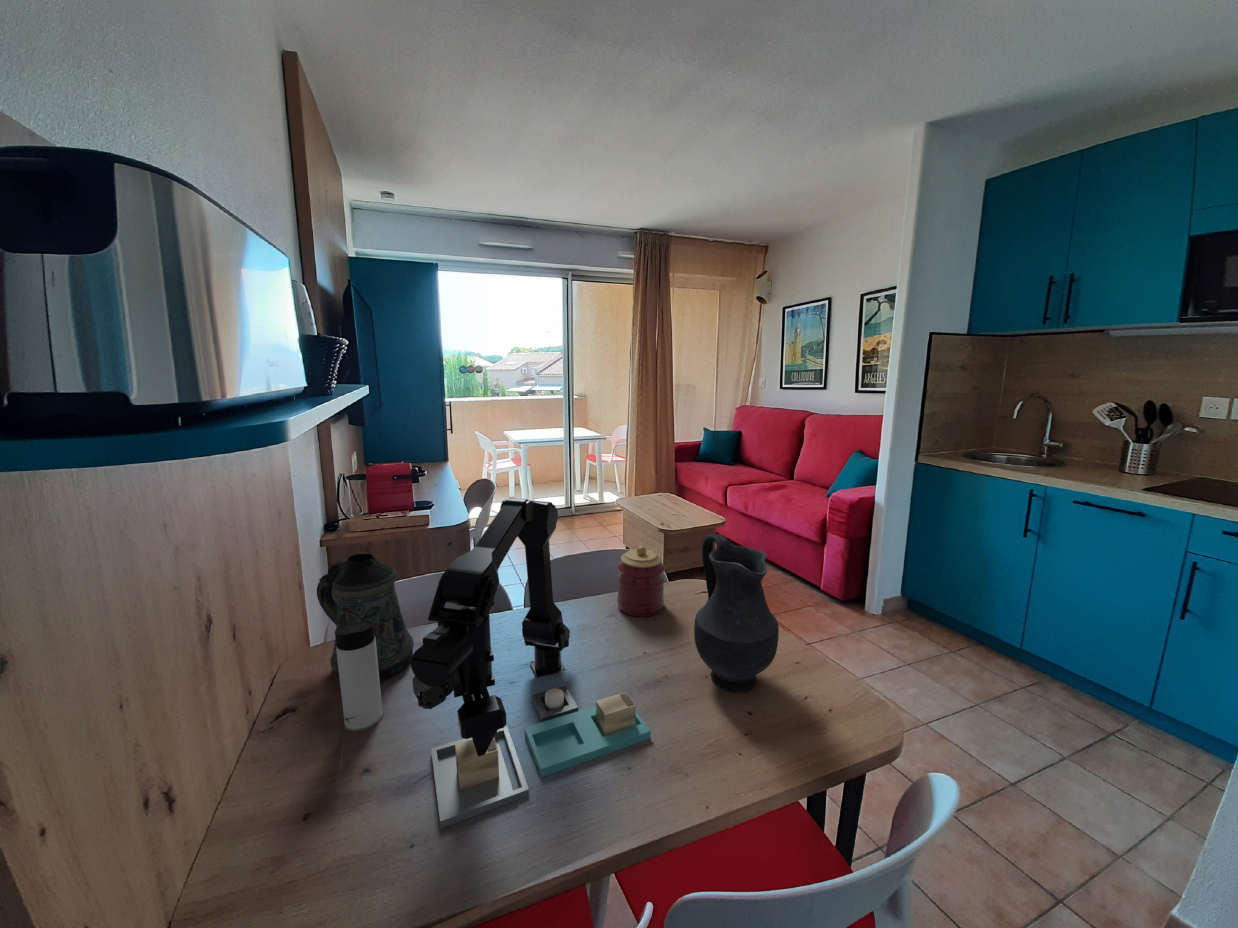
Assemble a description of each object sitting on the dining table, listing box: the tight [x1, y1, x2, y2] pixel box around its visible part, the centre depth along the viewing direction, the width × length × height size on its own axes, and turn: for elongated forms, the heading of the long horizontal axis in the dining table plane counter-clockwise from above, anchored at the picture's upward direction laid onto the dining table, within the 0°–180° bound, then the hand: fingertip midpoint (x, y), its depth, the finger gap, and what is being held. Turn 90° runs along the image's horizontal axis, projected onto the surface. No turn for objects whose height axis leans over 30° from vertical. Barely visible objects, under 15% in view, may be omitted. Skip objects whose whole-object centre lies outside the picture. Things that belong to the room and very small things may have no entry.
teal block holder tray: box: [524, 705, 652, 778], centre depth 87 cm, size 10×20×2 cm, turn 115°
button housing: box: [531, 685, 579, 723], centre depth 94 cm, size 7×7×2 cm
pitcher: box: [693, 533, 780, 694], centre depth 104 cm, size 17×21×30 cm
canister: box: [616, 545, 666, 618], centre depth 134 cm, size 13×13×18 cm
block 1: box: [455, 737, 499, 790], centre depth 78 cm, size 4×6×5 cm, turn 115°
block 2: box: [595, 691, 637, 737], centre depth 88 cm, size 4×6×5 cm, turn 115°
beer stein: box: [316, 553, 415, 682], centre depth 106 cm, size 16×19×25 cm
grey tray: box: [430, 725, 530, 829], centre depth 79 cm, size 15×13×2 cm
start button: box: [544, 688, 565, 712], centre depth 93 cm, size 4×4×2 cm
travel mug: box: [334, 620, 384, 732], centre depth 89 cm, size 6×7×20 cm
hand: (476, 734), depth 77 cm, fingers open, 9 cm apart
